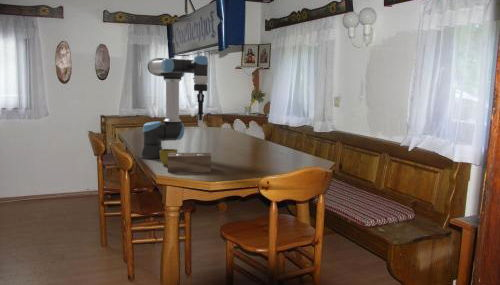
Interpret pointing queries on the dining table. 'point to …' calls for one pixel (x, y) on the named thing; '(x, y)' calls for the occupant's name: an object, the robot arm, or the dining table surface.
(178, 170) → the tan grooved block
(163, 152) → the flower pot
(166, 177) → the dining table surface
